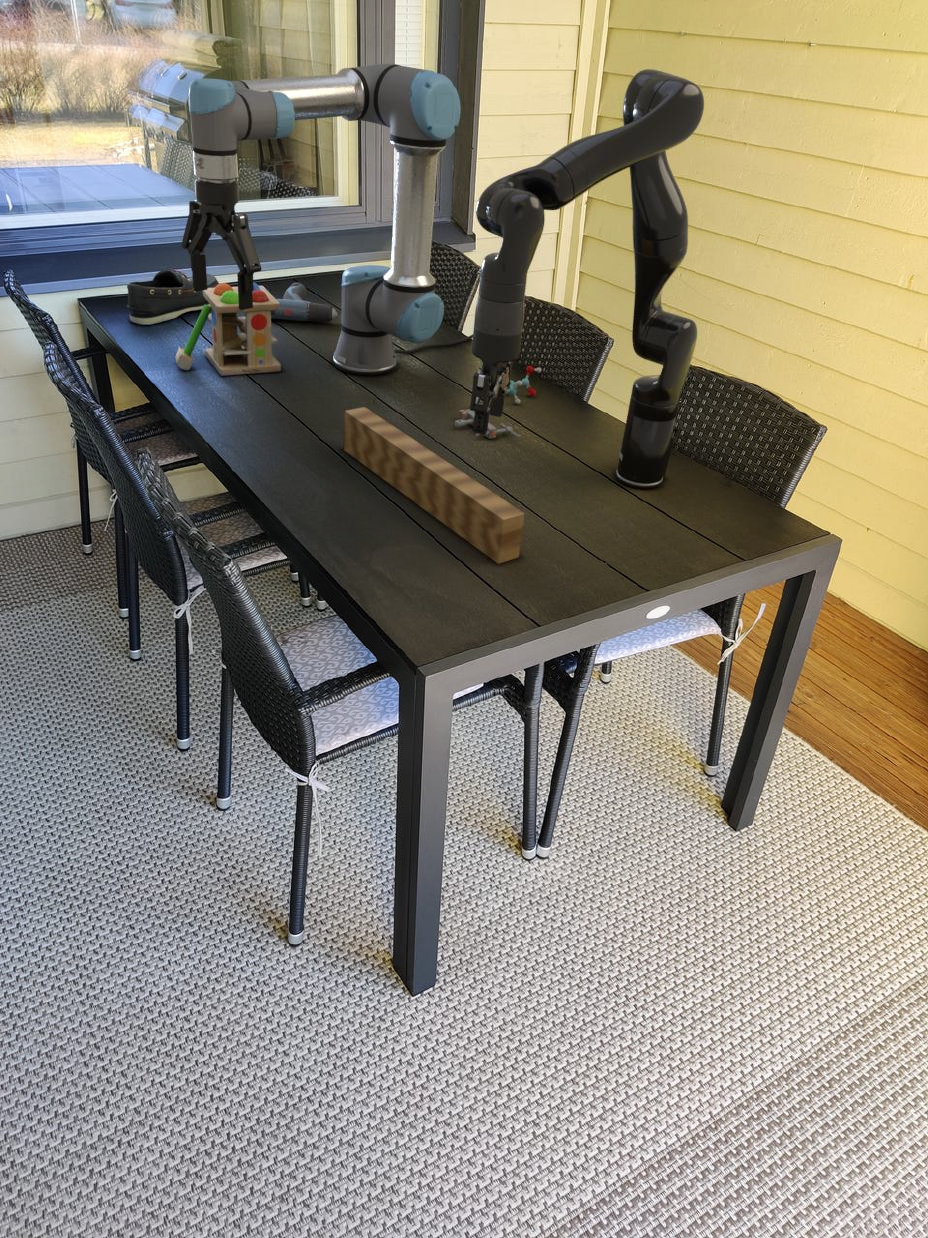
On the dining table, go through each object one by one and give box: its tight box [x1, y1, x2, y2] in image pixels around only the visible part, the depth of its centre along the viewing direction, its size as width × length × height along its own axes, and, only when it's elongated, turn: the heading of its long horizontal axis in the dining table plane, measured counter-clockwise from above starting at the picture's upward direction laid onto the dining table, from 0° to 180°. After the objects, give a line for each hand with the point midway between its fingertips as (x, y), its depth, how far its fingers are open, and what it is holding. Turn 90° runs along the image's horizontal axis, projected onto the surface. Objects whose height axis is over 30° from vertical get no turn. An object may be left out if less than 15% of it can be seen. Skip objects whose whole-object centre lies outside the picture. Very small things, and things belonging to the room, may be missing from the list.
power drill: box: [271, 282, 338, 322], centre depth 265 cm, size 5×19×20 cm
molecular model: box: [503, 361, 542, 405], centre depth 227 cm, size 12×10×10 cm
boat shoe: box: [126, 268, 220, 325], centre depth 258 cm, size 13×33×10 cm, turn 147°
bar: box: [343, 406, 525, 565], centre depth 180 cm, size 50×5×8 cm, turn 37°
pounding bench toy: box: [174, 281, 282, 377], centre depth 225 cm, size 23×14×18 cm, turn 116°
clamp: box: [454, 408, 522, 440], centre depth 210 cm, size 15×2×10 cm
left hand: (222, 299), depth 186 cm, fingers open, 13 cm apart
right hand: (487, 424), depth 160 cm, fingers open, 8 cm apart
